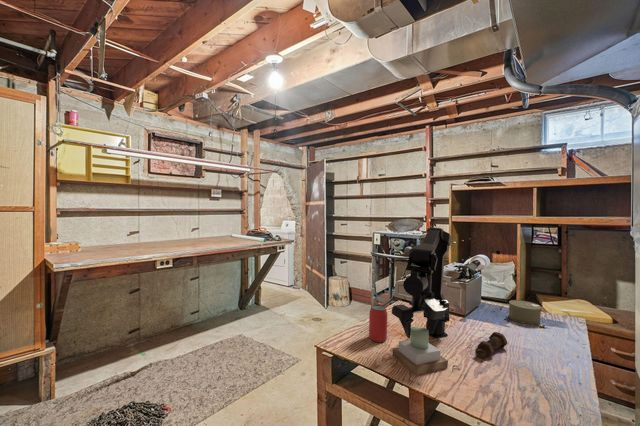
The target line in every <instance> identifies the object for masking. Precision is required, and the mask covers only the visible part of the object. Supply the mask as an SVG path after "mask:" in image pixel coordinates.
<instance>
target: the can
mask: <svg viewBox="0 0 640 426" xmlns="http://www.w3.org/2000/svg"><path fill="white" fill-rule="evenodd" d="M508 304H509V305H508V317H509V319H511V320H513V321H514V322H517V323H521V324H525V325H534V324H536V325H539V323H540V324H541V318H542V317H541V314H542V313H541V312H542V306H541V305H539V304H537V303H534V302H531V301H527V300H523V299H522V300H521V299H512V300H509V301H508ZM534 326H535V325H534Z"/></svg>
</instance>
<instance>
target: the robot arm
mask: <svg viewBox="0 0 640 426" xmlns="http://www.w3.org/2000/svg"><path fill="white" fill-rule="evenodd" d="M451 246H452V236H451V234H450V233H449V232H447V231H444V229H443V228H441V227H431V226H430V227H427V231H426V235H425V236H424V237H423V240H422V241H421V244H417V245H415V246H414V247H412V250H410V252H409V254H408V260H407V264H406V269H405V270H406V271H409V272H410V274H409V275H408V276H407V277H406V278H405V279H404V281H403V285H402V286H403V289H404V291H405V293H407V294H408V295H410V296H411V300H409V301H408V304H409V306H410V307H409V306H407V305H405V304H396V305H393V306H392V307H391V315H393V316H395V317H396V318H397V319H398V320H399V322H400V323H401V326H402V328H403V332H404V333H405V335H406V336H405V337H407V338H408V339H411V328H412V323H413V322H414V321H415V320H414V319H413V318H414V316H415V315H414V314H418V313H423V318H424V319H426V321H425V322H426V323H425V328H426V329H428V330H429V336H430V337H432V338H434V339H438V338H443V337H447V336H448V335H449V334H448V333H446V330H445V329H446V323H447V322H450V317H451V316H450V303H449V301H448V300H447V299H446V298H445V296H444V294H443V287H444V268H445V267H444V266H445V256H446V255H447V253H448V252H449V250H450V247H451Z"/></svg>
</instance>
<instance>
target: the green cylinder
mask: <svg viewBox="0 0 640 426" xmlns="http://www.w3.org/2000/svg"><path fill="white" fill-rule="evenodd" d="M429 336H430V335H429V330H428V329H426V327H423V326H411V335H410V340H411V346H412V347H414V348H416V349H422V350H424V349H428V347H429V340H430V338H429Z"/></svg>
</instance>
